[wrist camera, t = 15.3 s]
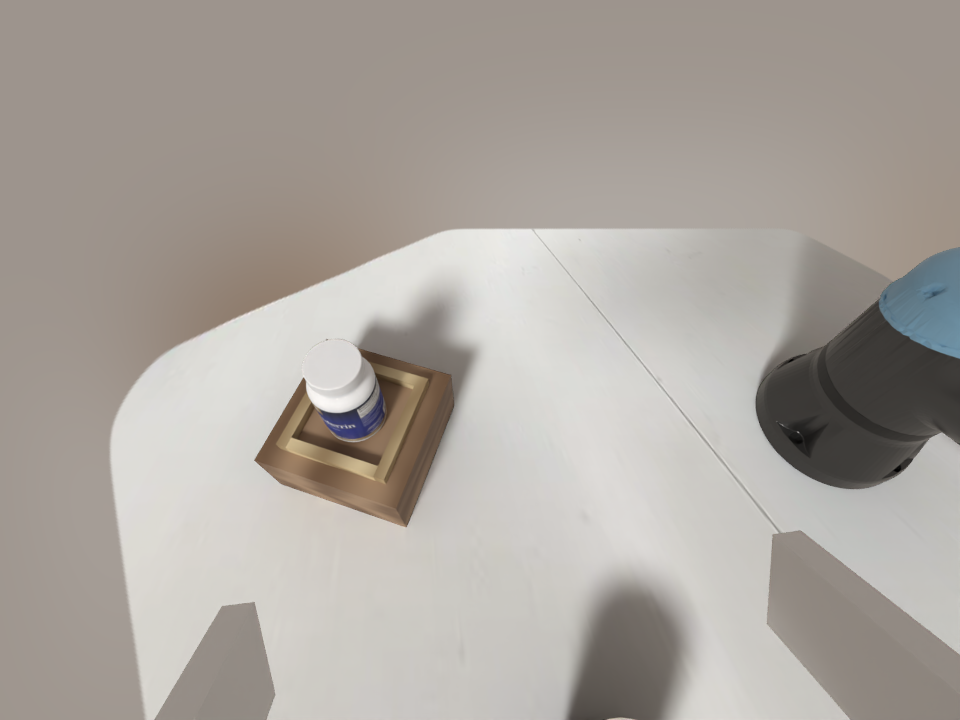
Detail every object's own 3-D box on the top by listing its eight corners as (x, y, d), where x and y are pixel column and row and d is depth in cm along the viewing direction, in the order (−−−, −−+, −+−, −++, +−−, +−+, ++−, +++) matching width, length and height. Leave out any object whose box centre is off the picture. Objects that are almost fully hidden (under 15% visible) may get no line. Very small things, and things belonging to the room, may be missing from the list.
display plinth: (454, 405, 55) (450, 369, 48) (406, 527, 48) (393, 505, 41) (342, 372, 57) (323, 332, 50) (280, 483, 50) (248, 455, 43)
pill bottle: (315, 429, 46) (278, 376, 37) (349, 381, 48) (322, 322, 40) (367, 454, 44) (341, 406, 36) (399, 403, 47) (382, 348, 39)
